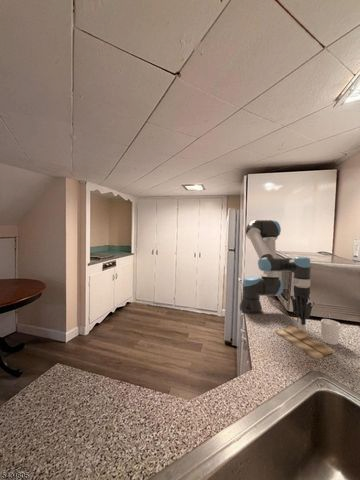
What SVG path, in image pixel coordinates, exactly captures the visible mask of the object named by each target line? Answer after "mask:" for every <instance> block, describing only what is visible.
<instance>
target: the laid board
mask: <svg viewBox="0 0 360 480" xmlns="http://www.w3.org/2000/svg"><path fill="white" fill-rule="evenodd" d="M274 333H275V334H277V335H279V336H280V337H282V338H283V339H285V340H287V341H288V342H289V343H291V344H293V345H294V346H295V347H297V348H299V349H300V350H302V351H303V352H304V353H306V354H308V355H310V356H311V357H312V358H314V359H321V358H324V356H323V354H321V353H319V352H318V351H316V350H314V349H313V348H311V347H309V346H308V345H306V344H304V343H303V342H302V341H300V340H298V339H296V338H295V337H293V336H291V335H290V334H288V333H286V332H285V331H284V330H283V329H276V330H275V332H274Z"/></svg>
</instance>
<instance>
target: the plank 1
mask: <svg viewBox="0 0 360 480" xmlns="http://www.w3.org/2000/svg"><path fill="white" fill-rule="evenodd" d="M282 330H283V331H285V332H286V333H288V334H290V335H291V336H293V337H295V338H296V339H298V340H300V341H301V342H302V341H303V340H306V339H309V338H311V337H310V334H308V333H306V332H305V331H304V330H302V331H300V330H298V327H295V326H293V325H289V326H287V327H286V328H284V329H282Z"/></svg>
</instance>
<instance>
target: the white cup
mask: <svg viewBox="0 0 360 480" xmlns="http://www.w3.org/2000/svg"><path fill="white" fill-rule="evenodd" d="M340 331H341V323H340V322H339V321H336V320H334V319H333V320H332V319H329V318H322V319H321V320H320V333H321V340H322V342H324V343H325V344H327V345H332V346H336V345H338V344H339V340H340V339H339V338H340Z"/></svg>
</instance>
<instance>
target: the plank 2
mask: <svg viewBox="0 0 360 480" xmlns="http://www.w3.org/2000/svg"><path fill="white" fill-rule="evenodd" d="M301 342H303V343H304V344H306V345H308V346H309V347H311V348H313V349H314V350H316V351H318V352H319V353H321V354H323V356H327V355H330V354H333V353H334V352H335V351H334V349H333V348H331V347H329V346H327V345H325V344H324V343H322V342H320V341H318V340H316V339H314V338H312V337H309V338H307V339H305V340H303V341H301Z"/></svg>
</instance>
